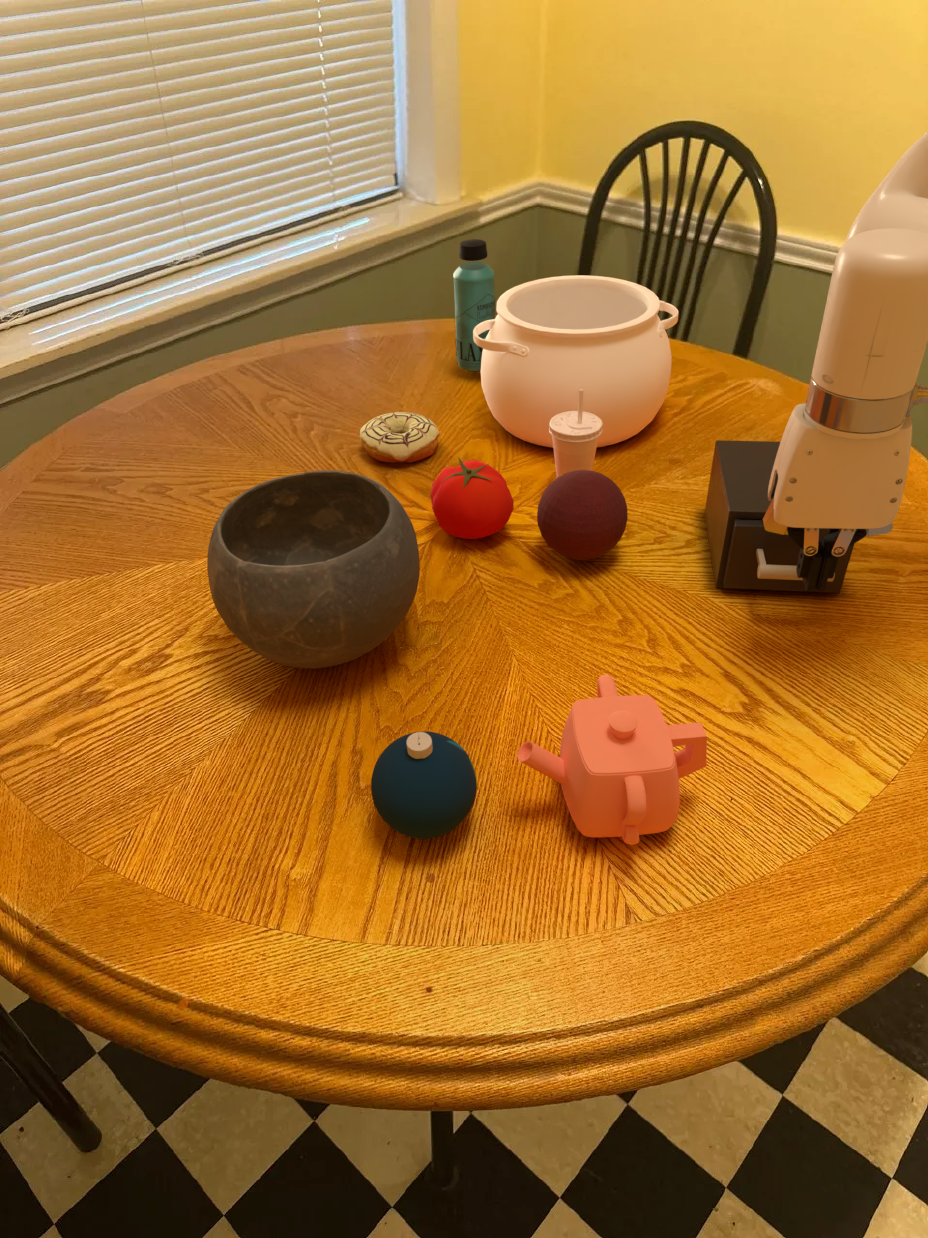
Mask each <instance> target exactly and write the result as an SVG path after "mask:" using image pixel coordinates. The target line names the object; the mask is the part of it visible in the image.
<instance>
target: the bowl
mask: <svg viewBox="0 0 928 1238" xmlns="http://www.w3.org/2000/svg"><path fill="white" fill-rule="evenodd" d="M418 544H419V543H418V539H417V534H416V531H415V528H414V525H413V523H412V520H411V519H410V516H409V514H408V512H407V511H406V509H405V507H404V506H403V504H402V503H401V502H400V501H399V499H397V498H396V497H395V495H394V494H393V493H392V492H391V491H390V490H389V489H387V487H385V486H384V485H383V484H381V483H380V482H378V481H376V480H374V479H372V478H371V477H367V476H364V475H362V474H359V473H355V472H352V471H344V470H339V469H319V470H318V469H317V470H310V471H304V472H300V473H293V474H288V475H284V476H279V477H275V478H271V479H268V480H266V481H263V482H261V483H258V484H256V485H254V486H252V487H250V488H248V489H246V490H244V491H242V492H241V493H240V494H238V495H237V496H236V497H235V498H233V499H232V500H230V502H229V503H228V504H226V506H225V507H224V508H223V510H222V511H221V513H220V514H219V516H218V518H217V520H216V521H215V524H214V527H213V529H212V531H211V535H210V539H209V544H208V547H207V548H208V549H207V562H206V565H207V578H208V585H209V591H210V593H211V599H212V602H213V605H214V606H215V607H214V608H215V609H216V611H217V613H218V615H219V616H220V618H221V619H222V621H223V622H224V624H225V625H226V627H227V629H228V630H229V631H230V632H231V633H232V634H233V635H234V636H235V638H237V639H238V640H239V641H240V642H241V643H242V644H243V645H245V646H246V647H247V648H249V649H250V650H251V651H252V652H254V653H255V654H257V655H259V656H261V657H263V658H264V659H266V660H268V661H271V662H273V663H275V664H278V665H282V666H285V667H290V668H296V669H305V670H306V669H308V670H310V669H313V670H314V669H315V670H316V669H325V668H331V667H335V666H339V665H342V664H346V663H349V662H351V661H355V660H357V659H358V658H361V657H362V656H364V655H366V654H368V653H370V652H372V651H373V650H374V649H376V648H377V647H378V646H380V645H381V644H382V643H384V642H385V641H386V640H387V639H388V638H390V636H391V635H393V633H394V632H395V631H396V630H397V628H398V627H399V626H400V625H401V623H402V622H403V621H404V619H405V618H406V616H407V614H408V613H409V611H410V609H411V607H412V605H413V603H414V600H415V597H416V594H417V592H418V586H419V583H420V582H419V580H420V551H419V545H418Z"/></svg>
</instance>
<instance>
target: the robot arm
mask: <svg viewBox="0 0 928 1238" xmlns="http://www.w3.org/2000/svg"><path fill="white" fill-rule="evenodd" d="M830 277H831V278H830V282H829V286H828V293H827V298H826V302H825V307H824V312H823V317H822V320H821V328H820V330H819V336H818V340H817V345H816V351H815V356H814V361H813V365H812V370H811V371H812V372H811V374H810V380H809V384H808V389H807V394H806V398H805V402H802V403H798V404H796V405H795V406H794V408H793V410H792V412H791V414H790V416H789V418H788V421H787V423H786V424H785V429H784V431H783V433H782V437H781V439H780V441H779V442H780V445H779V449H778V452H777V455H776V459H775V462H774V466H773V469H772V473H771V477H770V482H769V487H768V500H769V501H771V503H770V505H769V507H768V509H767V511H766V513H765V515H764V517H763V524H764V528H765V530H766V531H768V532H773V533H777V534H782V535H784V534H786V535H789V537H790V538H791V539H792V540H793V541H794V542H795V543H797V544H798V545H799V546H800V547H801V549H800V553H799V558H798V562H797V567H796V572H797V577H798V578H802V579H803V583H804V586H805V590H806V591H812V590H815V589H816V590H818V591H823V592H822V593H825V592H824V591H825V588H826V584H827V580H828V579H832V578H833V577H834V573H835V569H836V565H837V562H838V558H839V556H842V555H844V554H845V553H846V551H847V548H848V547H850V546H851V545H853V544H854V545H855V544H856V543H858V542H859V541H862V540H863V539H864V538H865V537H874V536H880V535H886V534H889V533H891V532H892V530H893V528H894V527H893V522H894V521H895V519H896V517H897V515H898V513H899V510H900V508H901V503H902V500H903V495H904V491H905V486H906V482H907V478H908V477H907V476H908V473H909V472H908V471H909V466H910V465H909V464H910V458H911V451H912V440H913V439H912V438H913V419H912V415H911V410H912V408H913V407H914V406H918V405H919V404H928V385H922V384H920V383H917V379H918V376H919V372H920V370H921V369H920V368H921V365H922V363H923V359H924V356H925V351H926V349H927V345H928V130H927V131H926V132H925V133H923V134H922V135H921V136H920V137H919V138H917V140H915V141H914V143H912V144H911V146H909V148H907V150H906V151H904V153H903V154H902V155H901V157H900V158H899V159H897V161H896V162H895V164H894V165H893V166H892V168H891V169H890V170H889V171H888V172H887V174H886V175H885V177H884V178H883V179H882V180H881V181H880V183H878V186H877V187H876V188H875V189H874V191H873V192H872V193H871V194H870V196H869V197H868V198H867V200H866V201H865V203H864V204H863V206H862V208H861V209H860V211H859V212H858V214H857V215H856V217H855V219H854V220H853V222H852V224H851V226H850V228H849V231H848V232H847V235H846V237H845V241H844V243H843V244H842V245H841V247H840V248H839V250H838V252H837V254H836V257H835V259H834V264H833V268H832V272H831V276H830ZM819 528H828V530H827V532H826V536H825V537H821V538H820V540H819Z"/></svg>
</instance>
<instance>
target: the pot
mask: <svg viewBox="0 0 928 1238" xmlns="http://www.w3.org/2000/svg"><path fill="white" fill-rule="evenodd" d="M659 311H660V312H666V313H668V314H670V315H671V317H669V318H665V319H662V320H661V319H660V316H659ZM495 312H496V313H497V314H496V315H495V319H492V320H486V321H484V322H481V323H480V324H478V325H477V326H476V327H475V328H474V330H473V340H474V342H475V343H476V345H478V346H479V347H482V348H483V351H482V360H481V371H480V384H481V385H480V386H481V389H482V392H483V396H484V399H485V401H486V404H487V407H488V409H489V411H490V413H491V414H492V416H493V418H494V419H495V420H496V421H497V422H498V424H499V425H500V426H501V427H502V428H503V429H504V430H505V431H506V432H508V433H509V434H511V435H512V436H514V437H515V438H518V439H520V440H522V441H524V442H527V443H530V444H534V445H537V446H541V447H546V448H552V449H553V440H552V435H551V434H550V432H549V427H550V420H551V419H552V418H553V417H554V416H556V415H558V414H560V413H563V412H568V411H578V396H579V389H584V391H583V412H588V413H592V414H594V415H596V416H598V417H599V418H600V419H601V420H602V433H601V435H600V436H599V437H598V443H597V448H603V447H607V446H612V445H615V444H619V443H620V442H623V441H627V440H628V439H630V438H632V437H634V436H636V435H638V434H639V433H640V432H641V431H642V430H644V429H645V428H646V427H647V426H649V424H650V423H651V422H652V421H654V419H655V417H656V415H657V414H658V412H659V411H660V409H661V407H662V406H663V404H664V402H665V399H666V398H667V395H668V391H669V388H670V381H671V375H672V363H673V362H672V359H673V358H672V350H671V344H670V339H669V337H668V333H667V331H666V330H668V329H670V328H672V327H674V326H675V325H676V324H677V323H678V322H679V310H678V308H677V307H676V306H674V305H673V304H671V303H669V302H666V301H664V300H660V298H659V297H658V296H657V294H656V293H655V292H654V291H652V290H651V289H649V288H648V287H645V286H644V285H641V284H639V283H636V282H634V281H629V280H625V279H621V278H617V277H612V276H611V277H610V276H601V275H600V276H599V275H582V274H581V275H561V276H559V275H558V276H551V277H545V278H538V279H534V280H531V281H530V280H529V281H527V282H523V283H521V284H518V285H515V286H513V287H511V288H509V289H508V290H506V291H504V292H503V293H502V294H501V295H500V296H499V297H498V298H497V300H496V305H495ZM489 329H490V331H489V333H488V335H487V336H486V338H485V339H482V338H480V337H479V336H478V335H479V334H481V333H482V332H484V331H486V330H489Z"/></svg>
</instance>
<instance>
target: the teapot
mask: <svg viewBox="0 0 928 1238" xmlns="http://www.w3.org/2000/svg"><path fill="white" fill-rule="evenodd" d="M707 742H708V736H707V733H706V730H705V728H704V726H703V723H702V722H700V721H699V722H688V723H677V724H667V722H666V719H665V716H664V714H663V712H662V710H661V708H660V707H659V705H658V703H657V702H656V700H655V698H653V696H650V695H649V694H633V695H629V694H628V695H619V694H618V689H617V685H616V681H615V680H614V678H613V677H612V676H611V675H610V674H601V675H600V676H599V677H598V679H597V682H596V697H591V698H584V699H578V700H575V701H574V703H573V704H572V707H571V708H570V711H569V713H568V716H567V718H566V720H565V723H564V727H563V730H562V734H561V740H560V748H559V756H557V755H556V754H554V753H552V752H550V751H548V750H547V749H545V748H544V747H542V746H540V745H538V744H537V743H535V742H532V741H530V740H526V741H525V742H523V743H522V744H521V746H520V747H519V749H518V750H517V754H516V755H517V760H518V761H519V762H521V763H522V764H524V765H526V766H527V767H529V768H531V769H533V770H535V771H537V772H538V773H540V774H542V775H544V776H545V777H548V778H550V779H552V780H553V781H555V782H557V783H559V784H560V785H561V789H562V794H563V797H564V800H565V804H566V806H567V809H568V811H569V813H570V816H571V818H572V821H573V823H574V825H575V827H576V828H577V830H578V832H579V833H580V834H582V836H584V837H586V838H619V837H621V838H622V841H623V842H624V843H625V844H626V845H630V846H634V845H637V844H639V842H640V836H642V835H644V836H645V835H651V834H658V833H663V832H666V831H668V830H669V829H670V828H671V827H673V825H674V824H675V823H676V821H677V819H678V817H679V811H680V810H679V809H680V804H681V803H680V800H681V794H680V793H681V791H680V779H683V778H684V777H686V776H689V775H691V774H693V773H696V772H697V771H699V770H702V769H704V768H706V767H707V759H708V758H707V752H708V751H707V749H708V747H707V745H708V743H707ZM681 746H684V748H682V749H680V750H678V751H675V748H676V747H681Z"/></svg>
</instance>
